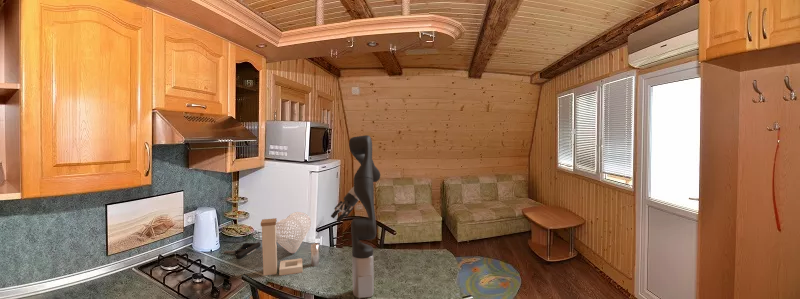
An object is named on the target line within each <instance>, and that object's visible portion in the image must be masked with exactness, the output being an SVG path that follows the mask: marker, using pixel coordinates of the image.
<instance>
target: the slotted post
mask: <svg viewBox="0 0 800 299" xmlns="http://www.w3.org/2000/svg"><path fill="white" fill-rule="evenodd" d="M277 220H278V219H277V218H274V217H273V218H264V219H261V221H260V227H261V236H262V237H261V242H262V244H261V245H262V268H263V276H270V275H277V272H278V273H279V274H278V275H279V276H285V275H293V274H300V273H302V274H303V272H304V271H303V269H304V268H303V258H294V259H285V260H280V261H279V262H280V263H279V269H278V249H277V241H276V235H277V230H276V225H277V224H276V223H277V222H278V221H277ZM278 270H279V271H278Z"/></svg>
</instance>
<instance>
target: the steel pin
mask: <svg viewBox="0 0 800 299" xmlns="http://www.w3.org/2000/svg"><path fill="white" fill-rule="evenodd" d="M319 249H320V248H319V243H317V242H314V243H310V261H311V263H310V266H312V267H317V266H319V265H320V252H319V251H320V250H319Z"/></svg>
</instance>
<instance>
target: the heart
mask: <svg viewBox="0 0 800 299" xmlns="http://www.w3.org/2000/svg"><path fill="white" fill-rule="evenodd" d="M311 226H312V221H311V218H310V216H309V215H308V214H306V213H304V212H300V211H297V212H295V211H294V212H293V213H290V214H289V215H288V216H287V217H285V218H283V219H280V220H279V221H277V222H276V243H278V245H280V246H281V247H282V248H283V249H285V250H286V251H287V252H288V253H291V254H296V252H297V251H298V250H299V248H300V246H301V245H302V243H303V241H304V240H305V238H306V236H307V234H308V233H309V231H310V229H311Z"/></svg>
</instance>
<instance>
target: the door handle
mask: <svg viewBox="0 0 800 299" xmlns="http://www.w3.org/2000/svg"><path fill="white" fill-rule="evenodd" d="M261 245H262V244H261V242H259V241H258V242H246V243H245V242H244V243H242V246H241V247H240V248H238V249H235V250H224V251H223V253H234V254H233V255H235V257H236V259H237V260H238V259H241V258H243V257H245V256H248V255H251V254H252V253H253V252H255V251H256V250H257V249H258V248H260V247H261ZM246 248H247V249H246ZM251 252H252V253H251ZM236 254H237V255H236Z"/></svg>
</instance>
